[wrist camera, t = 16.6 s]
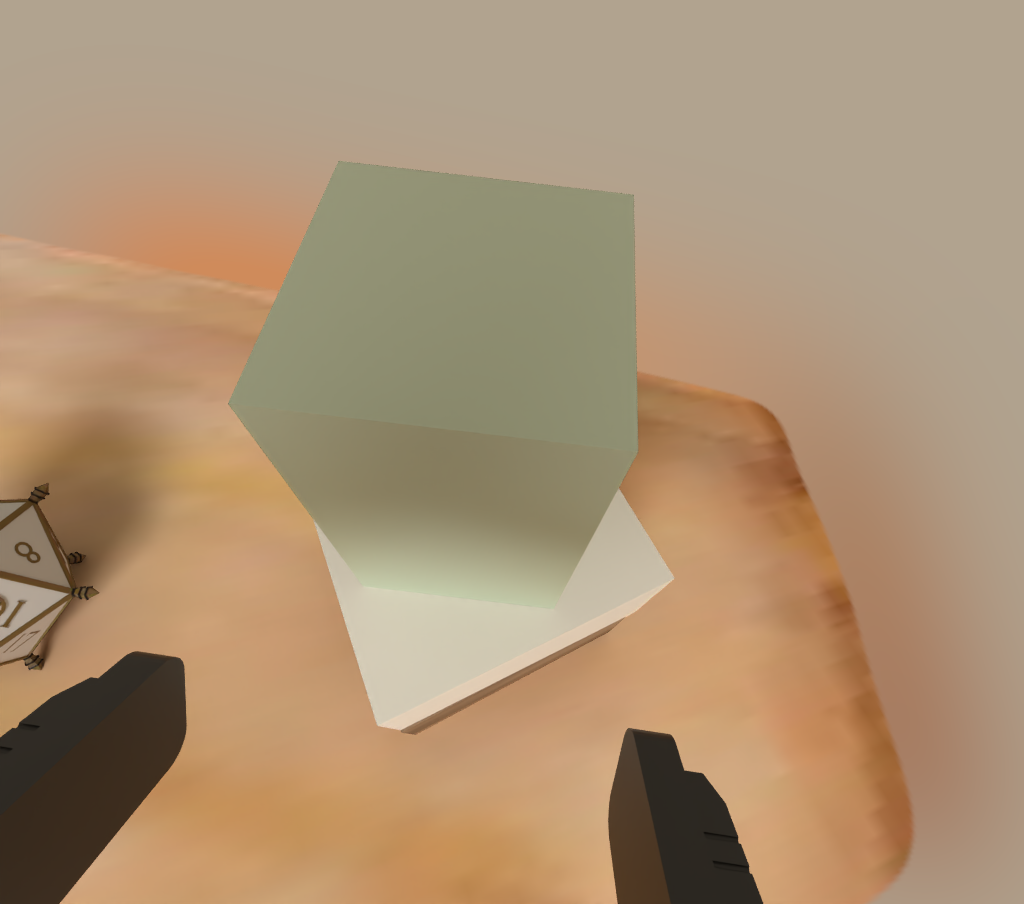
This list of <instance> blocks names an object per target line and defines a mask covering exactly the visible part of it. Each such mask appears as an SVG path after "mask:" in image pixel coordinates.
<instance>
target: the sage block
mask: <svg viewBox="0 0 1024 904" xmlns="http://www.w3.org/2000/svg"><path fill="white" fill-rule="evenodd" d="M636 354H637V353H636V297H635V239H634V195H630V194H622V193H613V192H605V191H596V190H587V189H578V188H570V187H561V186H551V185H544V184H535V183H526V182H518V181H509V180H499V179H491V178H482V177H473V176H465V175H457V174H448V173H439V172H430V171H421V170H413V169H404V168H396V167H387V166H378V165H370V164H361V163H351V162H343V161H339V162H338V164H337V166H336V168H335V170H334V173H333V175H332V177H331V179H330V181H329V184H328V186H327V188H326V190H325V193H324V194H323V197H322V199H321V201H320V203H319V205H318V208H317V210H316V212H315V214H314V217H313V219H312V221H311V223H310V225H309V227H308V230H307V232H306V234H305V236H304V238H303V241H302V243H301V245H300V247H299V250H298V251H297V254H296V256H295V258H294V260H293V262H292V265H291V267H290V269H289V271H288V273H287V276H286V278H285V280H284V282H283V285H282V287H281V289H280V291H279V293H278V295H277V298H276V300H275V302H274V304H273V306H272V308H271V311H270V313H269V315H268V317H267V319H266V322H265V324H264V326H263V328H262V330H261V333H260V335H259V337H258V339H257V341H256V344H255V346H254V348H253V350H252V352H251V355H250V357H249V359H248V361H247V363H246V365H245V368H244V370H243V372H242V374H241V376H240V379H239V381H238V383H237V385H236V387H235V390H234V392H233V394H232V396H231V398H230V401H229V403H228V404H229V406H230V407H231V408H232V410H233V411H234V412H235V414H236V415H237V416H238V418H239V419H240V420H241V422H242V423H243V424H244V426H245V427H246V429H247V430H248V431H249V433H250V434H251V435H252V437H253V438H254V439H255V441H256V442H257V443H258V445H259V446H260V447H261V449H262V450H263V452H264V453H265V454H266V456H267V457H268V458H269V460H270V461H271V462H272V464H273V465H274V466H275V468H276V469H277V471H278V472H279V473H280V475H281V476H282V477H283V479H284V480H285V481H286V483H287V484H288V485H289V487H290V488H291V489H292V491H293V492H294V494H295V495H296V496H297V498H298V499H299V500H300V502H301V503H302V504H303V506H304V507H305V508H306V510H307V511H308V512H309V514H310V515H311V517H312V518H313V519H314V521H315V522H316V523H317V525H318V526H319V527H320V529H321V530H322V531H323V533H324V534H325V536H326V537H327V538H328V540H329V541H330V542H331V544H332V545H333V546H334V548H335V549H336V550H337V552H338V553H339V554H340V556H341V557H342V559H343V560H344V561H345V563H346V564H347V565H348V567H349V568H350V569H351V571H352V572H353V573H354V575H355V576H356V577H357V579H358V580H359V582H360V583H361V584H362V586H365V587H374V588H382V589H390V590H399V591H407V592H415V593H424V594H432V595H441V596H449V597H457V598H466V599H474V600H482V601H491V602H499V603H508V604H516V605H524V606H533V607H541V608H549V609H554V607H555V606H556V604H557V602H558V600H559V598H560V596H561V594H562V593H563V591H564V589H565V587H566V585H567V583H568V581H569V580H570V578H571V576H572V574H573V572H574V570H575V568H576V567H577V565H578V563H579V561H580V559H581V557H582V555H583V554H584V552H585V550H586V548H587V546H588V544H589V542H590V541H591V539H592V537H593V535H594V533H595V531H596V529H597V528H598V526H599V524H600V522H601V520H602V518H603V516H604V515H605V513H606V511H607V509H608V507H609V505H610V503H611V501H612V500H613V498H614V496H615V494H616V492H617V490H618V488H619V487H620V485H621V483H622V481H623V479H624V477H625V475H626V474H627V472H628V470H629V468H630V466H631V464H632V462H633V461H634V459H635V457H636V455H637V453H638V411H637V356H636Z"/></svg>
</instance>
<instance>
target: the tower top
mask: <svg viewBox="0 0 1024 904" xmlns="http://www.w3.org/2000/svg"><path fill="white" fill-rule="evenodd" d="M313 520H314V519H313ZM314 523H315V526H316V529H317V533H318V536H319V539H320V542H321V546H322V549H323V552H324V555H325V558H326V562H327V565H328V568H329V571H330V575H331V578H332V581H333V584H334V587H335V591H336V594H337V597H338V600H339V604H340V607H341V610H342V613H343V617H344V620H345V623H346V626H347V629H348V633H349V636H350V639H351V642H352V646H353V649H354V652H355V655H356V658H357V662H358V665H359V668H360V671H361V675H362V678H363V681H364V684H365V688H366V691H367V694H368V697H369V700H370V704H371V707H372V710H373V713H374V717H375V720H376V723H377V726H381V727H387V728H392V729H397V730H402V729H404V728H406V727H408V726H410V725H412V724H414V723H416V722H418V721H420V720H422V719H424V718H426V717H428V716H430V715H432V714H434V713H436V712H438V711H440V710H442V709H444V708H446V707H448V706H450V705H452V704H454V703H456V702H458V701H460V700H462V699H464V698H466V697H468V696H470V695H472V694H473V693H475V692H477V691H479V690H481V689H483V688H485V687H487V686H489V685H491V684H493V683H495V682H497V681H499V680H501V679H503V678H505V677H507V676H509V675H511V674H513V673H515V672H517V671H519V670H521V669H523V668H525V667H527V666H529V665H531V664H533V663H535V662H537V661H539V660H541V659H543V658H545V657H547V656H549V655H551V654H553V653H555V652H557V651H559V650H561V649H563V648H565V647H567V646H569V645H571V644H573V643H575V642H577V641H579V640H581V639H583V638H585V637H587V636H589V635H591V634H593V633H595V632H597V631H599V630H600V629H602V628H604V627H606V626H608V625H610V624H612V623H614V622H616V621H618V620H620V619H622V618H624V617H626V616H628V615H630V614H632V613H634V612H636V611H637V610H638V609H639V608H640V607H641V606H643V605H644V604H645V603H646V602H647V601H648V600H650V599H651V598H652V597H653V596H654V595H656V594H657V593H658V592H659V591H660V590H661V589H663V588H664V587H665V586H666V585H667V584H669V583H670V582H671V581H672V580H673V579H674V577H673V575H672V573H671V572H670V570H669V568H668V567H667V565H666V564H665V562H664V560H663V559H662V557H661V556H660V554H659V552H658V551H657V549H656V547H655V546H654V544H653V543H652V541H651V539H650V538H649V536H648V534H647V533H646V531H645V530H644V528H643V526H642V525H641V523H640V522H639V520H638V518H637V517H636V515H635V513H634V512H633V510H632V509H631V507H630V505H629V504H628V502H627V501H626V499H625V497H624V496H623V494H622V492H621V491H620V489H619V488H618V490H617V492H616V494H615V496H614V498H613V500H612V501H611V503H610V505H609V507H608V509H607V511H606V513H605V515H604V516H603V518H602V520H601V522H600V524H599V526H598V528H597V529H596V531H595V533H594V535H593V537H592V539H591V541H590V542H589V544H588V546H587V548H586V550H585V552H584V554H583V555H582V557H581V559H580V561H579V563H578V565H577V567H576V568H575V570H574V572H573V574H572V576H571V578H570V580H569V581H568V583H567V585H566V587H565V589H564V591H563V593H562V594H561V596H560V598H559V600H558V602H557V604H556V606H555V607H554V609H549V608H541V607H533V606H524V605H516V604H508V603H499V602H491V601H482V600H474V599H466V598H457V597H449V596H441V595H432V594H424V593H415V592H407V591H399V590H390V589H382V588H374V587H365V586H362V584H361V583H360V582H359V580H358V579H357V577H356V576H355V575H354V573H353V572H352V571H351V569H350V568H349V567H348V565H347V564H346V563H345V561H344V560H343V559H342V557H341V556H340V554H339V553H338V552H337V550H336V549H335V548H334V546H333V545H332V544H331V542H330V541H329V540H328V538H327V537H326V536H325V534H324V533H323V531H322V530H321V529H320V527H319V526H318V525H317V523H316V522H315V521H314Z"/></svg>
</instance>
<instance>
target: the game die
mask: <svg viewBox="0 0 1024 904" xmlns="http://www.w3.org/2000/svg"><path fill="white" fill-rule="evenodd" d="M48 485H49V483H47V484H44V485H42V486H39V487H35V490H34V491H33V492H31V496H30V498H29V499H18V500H0V666H2V665H6V664H9V663H12V662H16V661H19V660H25V666H28V669H29V670H30V669H37V670H41V669H42V661H43V659H40V658H39V655H34V654H33V653H32V652H33V651H34V650H35V648H36V647H37V645H38V644H39V643H40V641H41V640H42V639H43V637H44V636H45V635H46V633H47V632H48V631H49V629H50V628H51V627H52V625H53V624H54V622H55V621H56V620H57V618H58V617H59V616H60V614H61V613H62V612H63V610H64V609H65V608H66V606H67V605H68V603H69V602H70V601H71V599H72V598H73V597H75V596H76V597H79V598H80V599H82V598H86V600H88V599H89V598H90V597H92V596H94V595H96V594H99V592H98V591H96V590H95V589H94V588H93V586H90V587H86V586H84V587H80V588H76V585H75V581H74V578H73V574H72V571H71V567H70V564H75V563H80V562H82V560H83V558H84V557H85V555H82V554H79V553H78V552H75V553H74V554H72V553H71V554H70V555H69V556H66V554H65V552H64V551H63V549H62V547H61V545H60V543H59V542H58V540H57V538H56V536H55V534H54V533H53V531H52V529H51V527H50V525H49V524H48V522H47V520H46V518H45V516H44V515H43V513H42V511H41V509H40V507H39V506H38V502H39V501H40V500H42V499H45V498H44V497H45V496H46V495H49V493H48Z"/></svg>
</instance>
